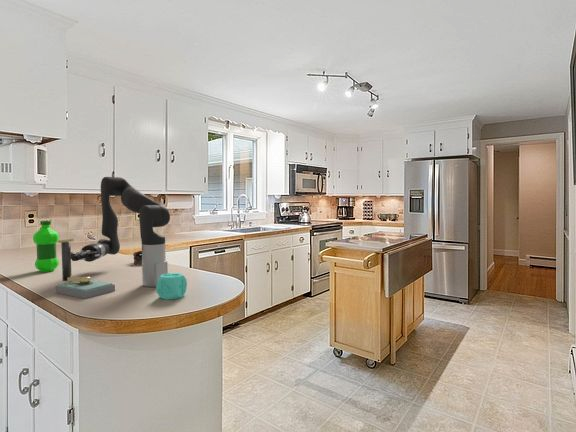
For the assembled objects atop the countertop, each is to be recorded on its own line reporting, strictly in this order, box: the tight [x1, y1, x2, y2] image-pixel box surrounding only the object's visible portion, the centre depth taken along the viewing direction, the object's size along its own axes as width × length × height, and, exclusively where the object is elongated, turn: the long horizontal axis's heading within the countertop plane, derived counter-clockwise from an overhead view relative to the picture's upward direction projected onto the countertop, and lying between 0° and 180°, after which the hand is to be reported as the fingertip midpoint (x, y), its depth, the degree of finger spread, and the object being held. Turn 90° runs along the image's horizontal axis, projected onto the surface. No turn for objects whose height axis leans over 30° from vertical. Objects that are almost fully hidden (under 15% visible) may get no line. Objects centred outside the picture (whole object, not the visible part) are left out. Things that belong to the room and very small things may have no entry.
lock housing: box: [55, 279, 116, 299], centre depth 133 cm, size 18×12×3 cm, turn 63°
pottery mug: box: [132, 250, 142, 266], centre depth 192 cm, size 12×10×8 cm
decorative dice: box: [155, 272, 188, 301], centre depth 127 cm, size 8×8×8 cm
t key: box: [57, 238, 92, 284], centre depth 134 cm, size 12×6×16 cm, turn 74°
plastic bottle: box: [32, 220, 60, 273], centre depth 172 cm, size 10×10×25 cm
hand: (74, 258), depth 142 cm, fingers closed
